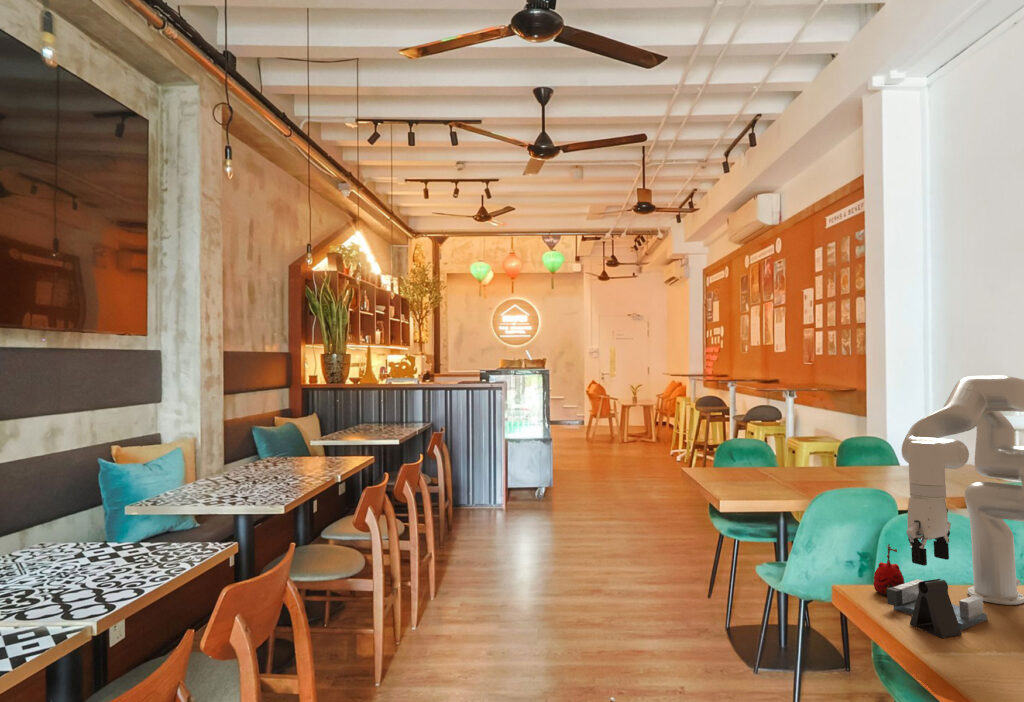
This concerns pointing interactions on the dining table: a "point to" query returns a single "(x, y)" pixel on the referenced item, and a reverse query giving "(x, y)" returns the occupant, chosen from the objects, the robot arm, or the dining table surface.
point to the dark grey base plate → (958, 611)
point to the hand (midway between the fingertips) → (930, 561)
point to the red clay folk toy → (887, 575)
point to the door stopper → (935, 610)
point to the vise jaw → (903, 593)
